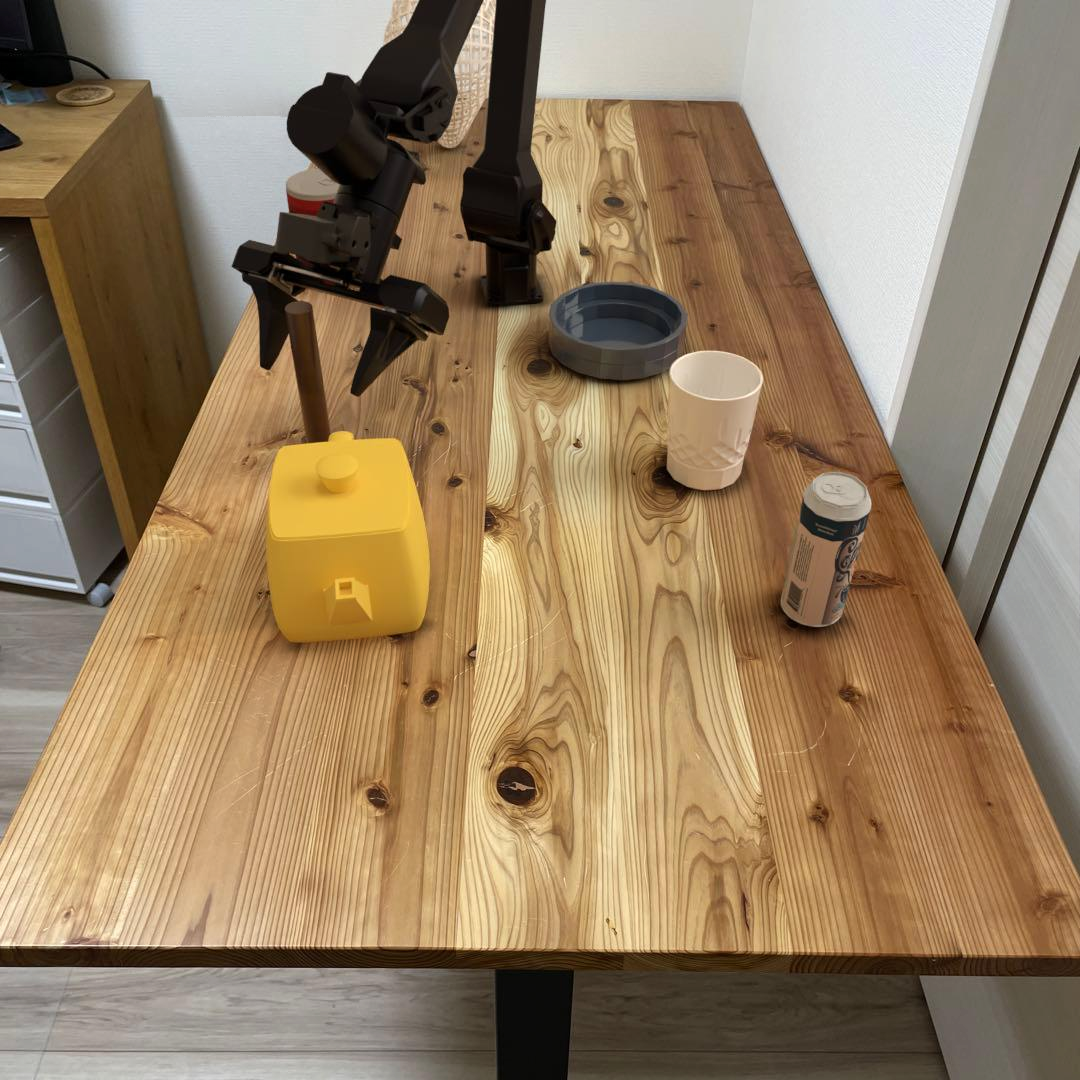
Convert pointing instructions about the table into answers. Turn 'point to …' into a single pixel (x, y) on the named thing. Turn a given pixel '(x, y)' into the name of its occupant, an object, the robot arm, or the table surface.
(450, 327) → the table surface
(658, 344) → the bowl
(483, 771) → the table surface
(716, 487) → the white cup
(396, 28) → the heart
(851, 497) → the beer can
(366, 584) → the teapot
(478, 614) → the table surface
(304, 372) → the stirring stick
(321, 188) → the canned food
